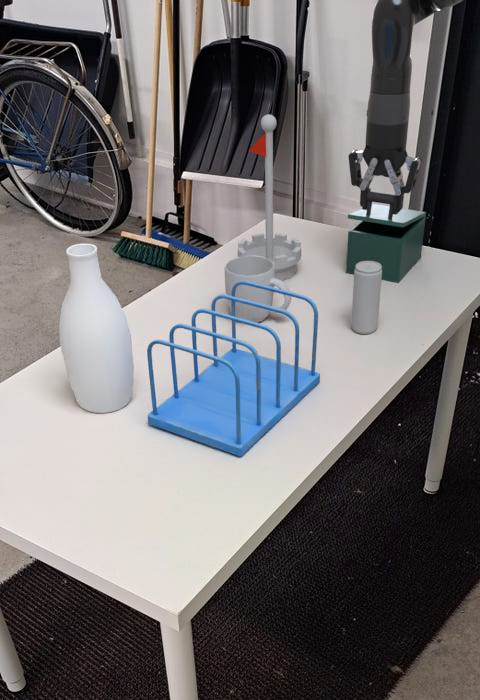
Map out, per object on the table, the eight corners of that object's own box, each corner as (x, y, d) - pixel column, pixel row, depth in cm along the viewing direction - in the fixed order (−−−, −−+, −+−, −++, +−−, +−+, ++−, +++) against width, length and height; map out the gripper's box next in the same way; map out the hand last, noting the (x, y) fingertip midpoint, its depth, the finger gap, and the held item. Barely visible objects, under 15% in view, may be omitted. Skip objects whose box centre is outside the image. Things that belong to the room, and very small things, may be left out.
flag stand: (269, 252, 183) (268, 100, 164) (314, 269, 176) (318, 113, 156) (225, 271, 177) (218, 115, 157) (269, 290, 169) (268, 129, 150)
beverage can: (377, 323, 158) (382, 260, 150) (377, 335, 154) (382, 272, 146) (350, 322, 158) (354, 260, 150) (350, 335, 155) (354, 271, 147)
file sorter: (240, 459, 127) (237, 368, 117) (147, 426, 134) (136, 338, 124) (320, 382, 142) (323, 296, 132) (233, 356, 150) (229, 273, 140)
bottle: (111, 425, 135) (87, 271, 118) (56, 406, 139) (26, 256, 123) (152, 392, 142) (135, 242, 125) (99, 375, 146) (76, 229, 130)
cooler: (398, 282, 170) (402, 240, 165) (345, 272, 174) (348, 230, 169) (421, 257, 179) (425, 216, 173) (370, 248, 183) (373, 208, 178)
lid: (403, 227, 162) (407, 198, 160) (347, 218, 167) (350, 190, 164) (425, 216, 173) (430, 189, 171) (372, 208, 178) (376, 181, 175)
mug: (218, 321, 160) (216, 270, 153) (239, 302, 166) (238, 252, 159) (280, 334, 155) (280, 282, 149) (299, 314, 161) (300, 263, 155)
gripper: (432, 116, 154) (422, 210, 165) (358, 108, 160) (353, 199, 171) (419, 127, 149) (409, 223, 160) (343, 118, 155) (338, 212, 166)
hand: (380, 210), depth 165 cm, fingers closed on lid, 5 cm apart
